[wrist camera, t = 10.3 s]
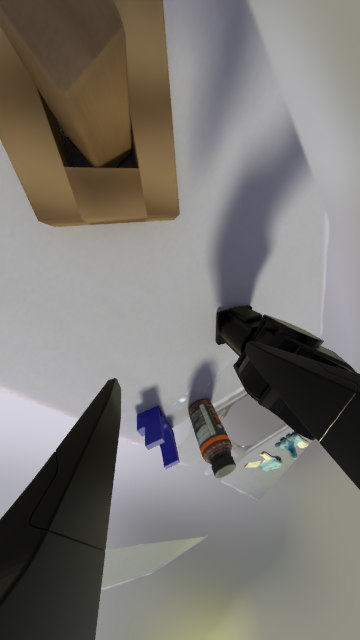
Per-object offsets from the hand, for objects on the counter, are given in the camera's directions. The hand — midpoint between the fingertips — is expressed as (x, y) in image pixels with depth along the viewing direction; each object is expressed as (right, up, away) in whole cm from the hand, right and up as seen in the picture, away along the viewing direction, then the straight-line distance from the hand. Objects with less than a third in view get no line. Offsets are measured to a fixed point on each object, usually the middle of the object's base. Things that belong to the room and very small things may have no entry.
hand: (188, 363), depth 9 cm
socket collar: (-8, +18, +3) cm, 20 cm away
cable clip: (-6, -21, +22) cm, 31 cm away
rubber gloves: (+49, -63, +59) cm, 100 cm away
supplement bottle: (+4, -18, +24) cm, 30 cm away
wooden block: (-8, +19, +3) cm, 20 cm away
